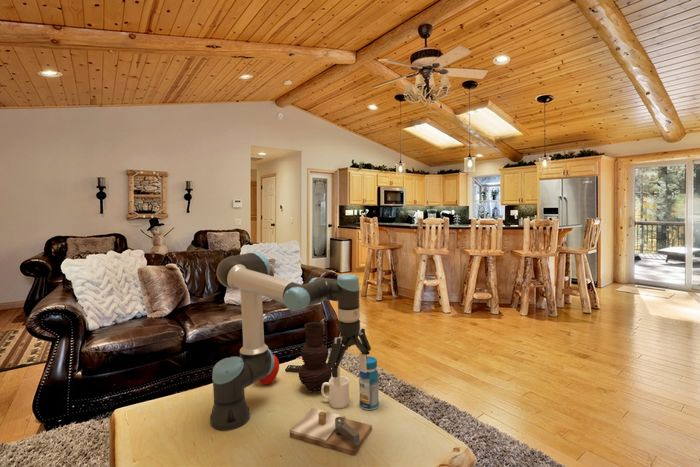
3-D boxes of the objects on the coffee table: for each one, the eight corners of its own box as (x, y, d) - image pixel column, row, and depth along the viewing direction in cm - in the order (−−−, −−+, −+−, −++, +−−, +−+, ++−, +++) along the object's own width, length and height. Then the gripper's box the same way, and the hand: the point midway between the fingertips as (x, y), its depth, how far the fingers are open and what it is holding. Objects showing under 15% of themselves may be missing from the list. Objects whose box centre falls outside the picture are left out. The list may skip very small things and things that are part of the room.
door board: (289, 436, 140) (289, 419, 139) (311, 413, 154) (311, 398, 153) (354, 455, 129) (354, 437, 128) (371, 429, 143) (371, 412, 143)
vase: (296, 383, 180) (294, 321, 177) (327, 378, 184) (326, 317, 182) (301, 399, 165) (299, 332, 162) (336, 393, 170) (334, 328, 167)
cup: (346, 409, 157) (346, 386, 156) (318, 407, 159) (318, 383, 158) (350, 399, 165) (350, 376, 164) (324, 396, 167) (323, 374, 166)
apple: (272, 374, 190) (271, 348, 188) (284, 382, 181) (283, 355, 179) (250, 381, 182) (249, 354, 181) (261, 391, 173) (260, 362, 172)
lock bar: (333, 431, 139) (333, 418, 139) (340, 428, 141) (340, 415, 140) (352, 449, 129) (352, 435, 129) (360, 445, 131) (360, 431, 131)
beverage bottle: (380, 410, 156) (379, 363, 154) (359, 411, 155) (358, 364, 154) (378, 399, 164) (378, 355, 162) (358, 400, 164) (358, 355, 162)
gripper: (331, 331, 120) (332, 395, 122) (379, 312, 139) (380, 369, 140) (315, 326, 125) (317, 388, 127) (364, 309, 144) (365, 363, 146)
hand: (350, 378), depth 134 cm, fingers open, 13 cm apart
